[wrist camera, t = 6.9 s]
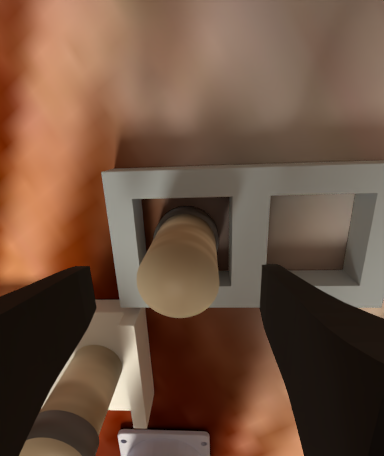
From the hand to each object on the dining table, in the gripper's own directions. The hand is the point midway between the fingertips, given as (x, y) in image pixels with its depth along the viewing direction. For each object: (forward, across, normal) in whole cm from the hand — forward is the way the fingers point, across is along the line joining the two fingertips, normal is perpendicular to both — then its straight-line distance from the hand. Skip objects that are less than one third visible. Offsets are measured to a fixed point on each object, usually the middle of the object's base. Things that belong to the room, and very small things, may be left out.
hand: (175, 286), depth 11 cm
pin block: (+6, -4, 0) cm, 7 cm away
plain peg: (+5, +7, +9) cm, 13 cm away
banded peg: (+6, 0, 0) cm, 6 cm away
